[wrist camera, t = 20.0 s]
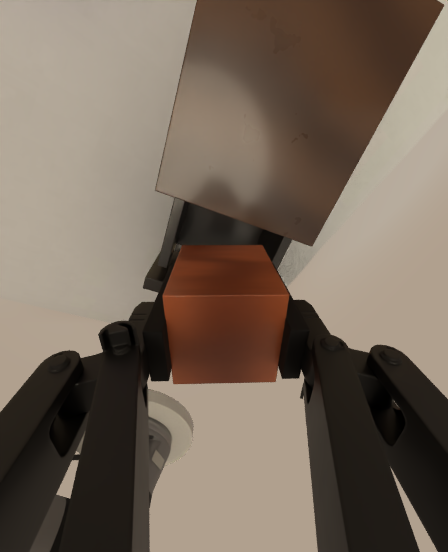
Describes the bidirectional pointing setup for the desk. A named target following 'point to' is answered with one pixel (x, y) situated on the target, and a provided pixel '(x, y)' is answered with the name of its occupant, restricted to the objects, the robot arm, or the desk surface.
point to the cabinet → (285, 104)
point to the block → (224, 315)
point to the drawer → (208, 237)
